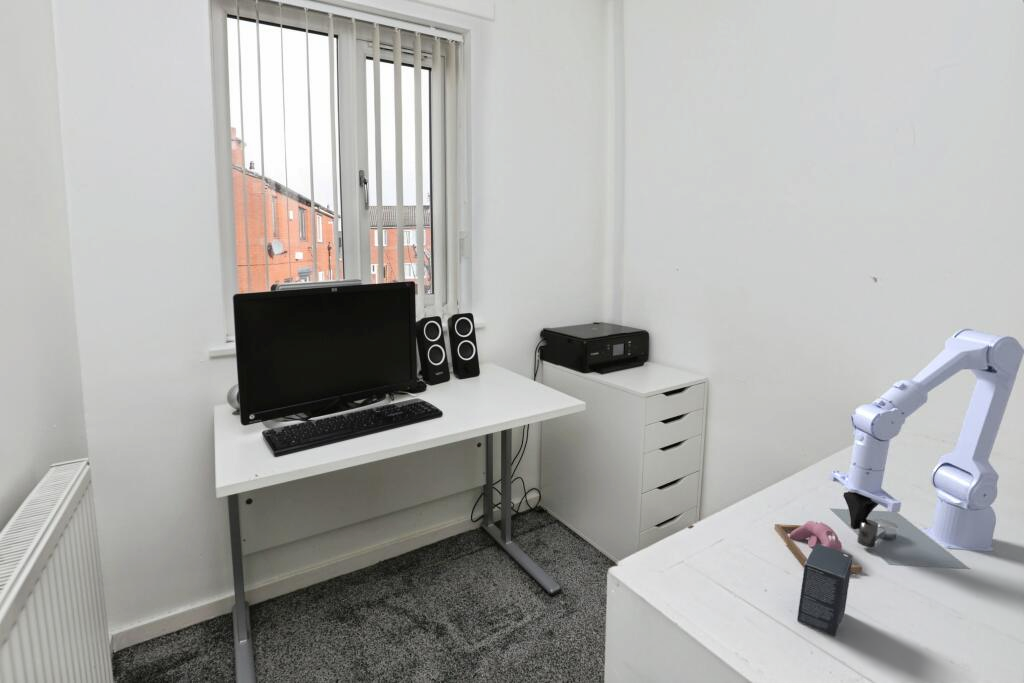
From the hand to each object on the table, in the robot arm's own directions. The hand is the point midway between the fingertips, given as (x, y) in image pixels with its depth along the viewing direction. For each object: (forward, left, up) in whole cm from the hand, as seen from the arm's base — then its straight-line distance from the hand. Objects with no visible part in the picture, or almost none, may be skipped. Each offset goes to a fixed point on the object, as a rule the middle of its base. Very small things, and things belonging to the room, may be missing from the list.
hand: (856, 528), depth 112 cm
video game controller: (+10, +4, -4) cm, 11 cm away
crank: (-5, -1, -3) cm, 6 cm away
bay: (+9, +3, -4) cm, 10 cm away
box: (+18, +23, -4) cm, 30 cm away
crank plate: (-10, -4, -4) cm, 11 cm away
